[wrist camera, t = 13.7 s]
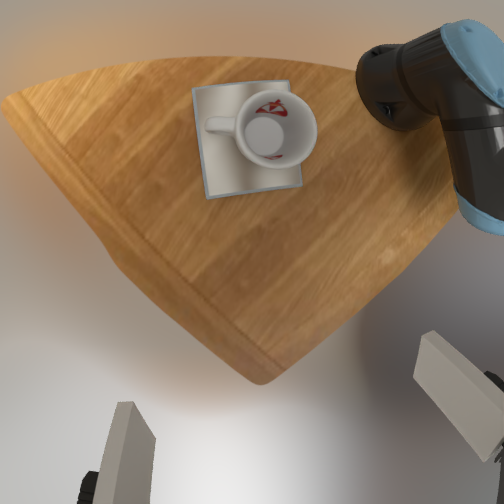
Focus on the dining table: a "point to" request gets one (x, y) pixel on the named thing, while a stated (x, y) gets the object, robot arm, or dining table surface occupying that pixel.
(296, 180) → the grey flat block
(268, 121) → the cup
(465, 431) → the robot arm
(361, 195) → the dining table surface
